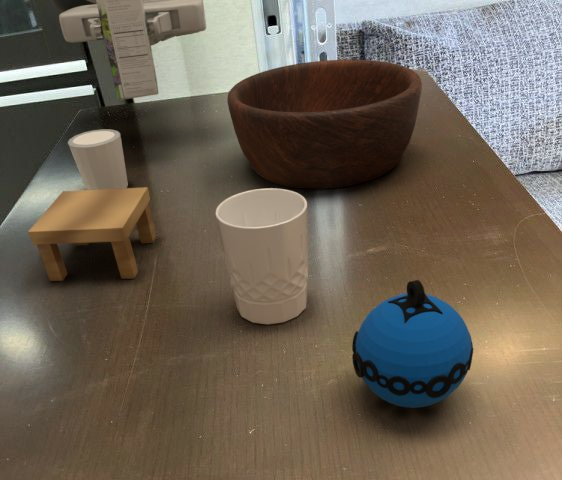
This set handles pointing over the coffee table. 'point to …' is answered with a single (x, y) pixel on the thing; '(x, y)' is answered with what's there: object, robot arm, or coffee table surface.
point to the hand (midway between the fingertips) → (124, 30)
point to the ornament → (412, 349)
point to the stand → (94, 226)
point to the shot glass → (100, 159)
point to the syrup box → (128, 47)
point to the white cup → (266, 252)
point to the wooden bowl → (325, 121)
